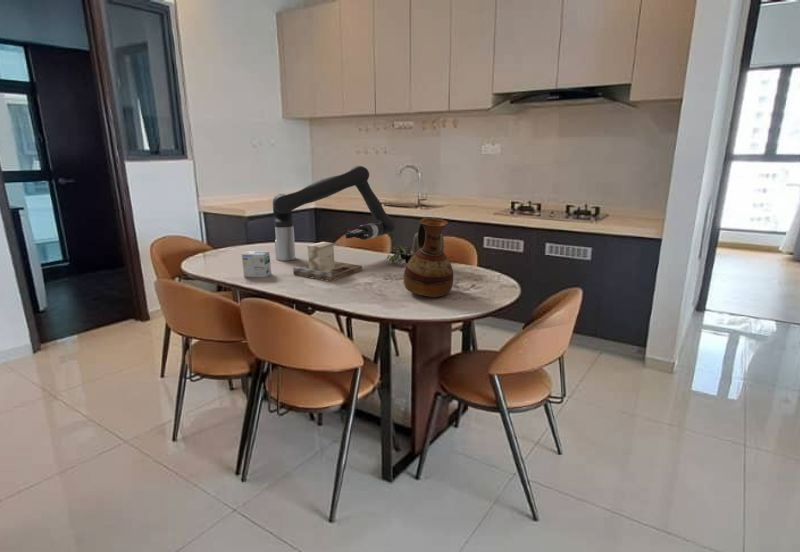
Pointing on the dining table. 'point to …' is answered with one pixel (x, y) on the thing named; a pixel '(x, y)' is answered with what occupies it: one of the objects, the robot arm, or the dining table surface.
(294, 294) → the dining table surface
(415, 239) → the tabletop clock
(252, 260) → the light bulb box
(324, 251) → the birch block
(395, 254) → the passion flower
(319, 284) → the dining table surface
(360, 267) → the trap board
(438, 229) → the ceramic pitcher
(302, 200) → the robot arm
